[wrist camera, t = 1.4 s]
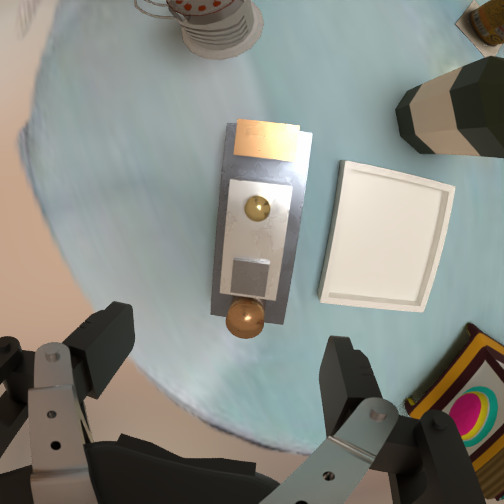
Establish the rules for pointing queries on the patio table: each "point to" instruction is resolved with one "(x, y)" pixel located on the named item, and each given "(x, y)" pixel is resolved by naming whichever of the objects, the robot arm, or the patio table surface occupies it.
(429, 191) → the tray
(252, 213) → the lever cap
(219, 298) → the plane body
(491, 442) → the decorative lantern
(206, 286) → the patio table surface
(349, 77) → the patio table surface
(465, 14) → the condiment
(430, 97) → the wine bottle
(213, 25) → the french press
